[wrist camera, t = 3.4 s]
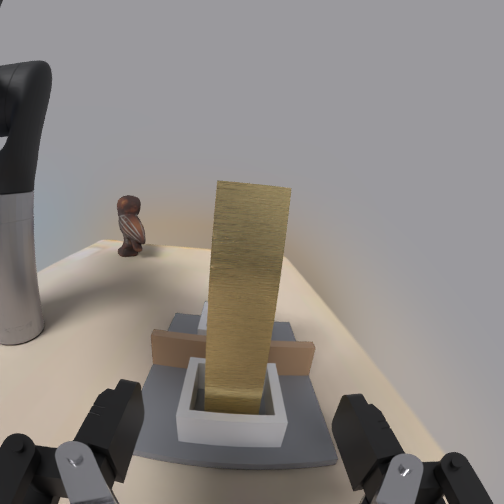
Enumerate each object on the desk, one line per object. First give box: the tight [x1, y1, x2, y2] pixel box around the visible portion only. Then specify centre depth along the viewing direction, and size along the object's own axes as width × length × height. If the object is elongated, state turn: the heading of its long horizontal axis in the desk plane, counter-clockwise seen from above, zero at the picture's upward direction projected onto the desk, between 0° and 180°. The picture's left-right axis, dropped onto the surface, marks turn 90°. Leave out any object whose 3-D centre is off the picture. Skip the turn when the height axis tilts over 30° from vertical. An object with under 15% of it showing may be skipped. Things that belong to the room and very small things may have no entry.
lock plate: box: [133, 301, 338, 469], centre depth 27 cm, size 24×16×4 cm, turn 3°
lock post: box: [204, 181, 291, 415], centre depth 19 cm, size 4×4×18 cm
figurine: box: [117, 195, 145, 257], centre depth 66 cm, size 13×6×15 cm, turn 46°
